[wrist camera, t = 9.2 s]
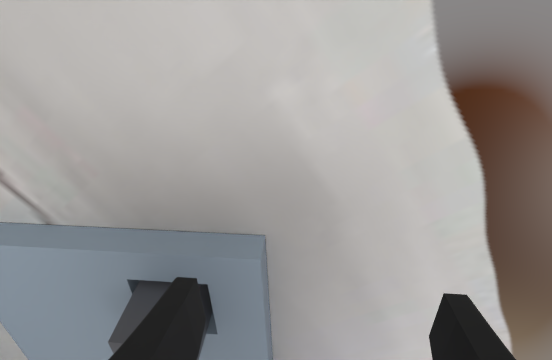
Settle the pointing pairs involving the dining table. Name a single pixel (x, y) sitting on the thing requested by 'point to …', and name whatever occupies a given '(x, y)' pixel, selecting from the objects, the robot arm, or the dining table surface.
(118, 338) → the block
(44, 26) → the dining table surface
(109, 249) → the socket plate
